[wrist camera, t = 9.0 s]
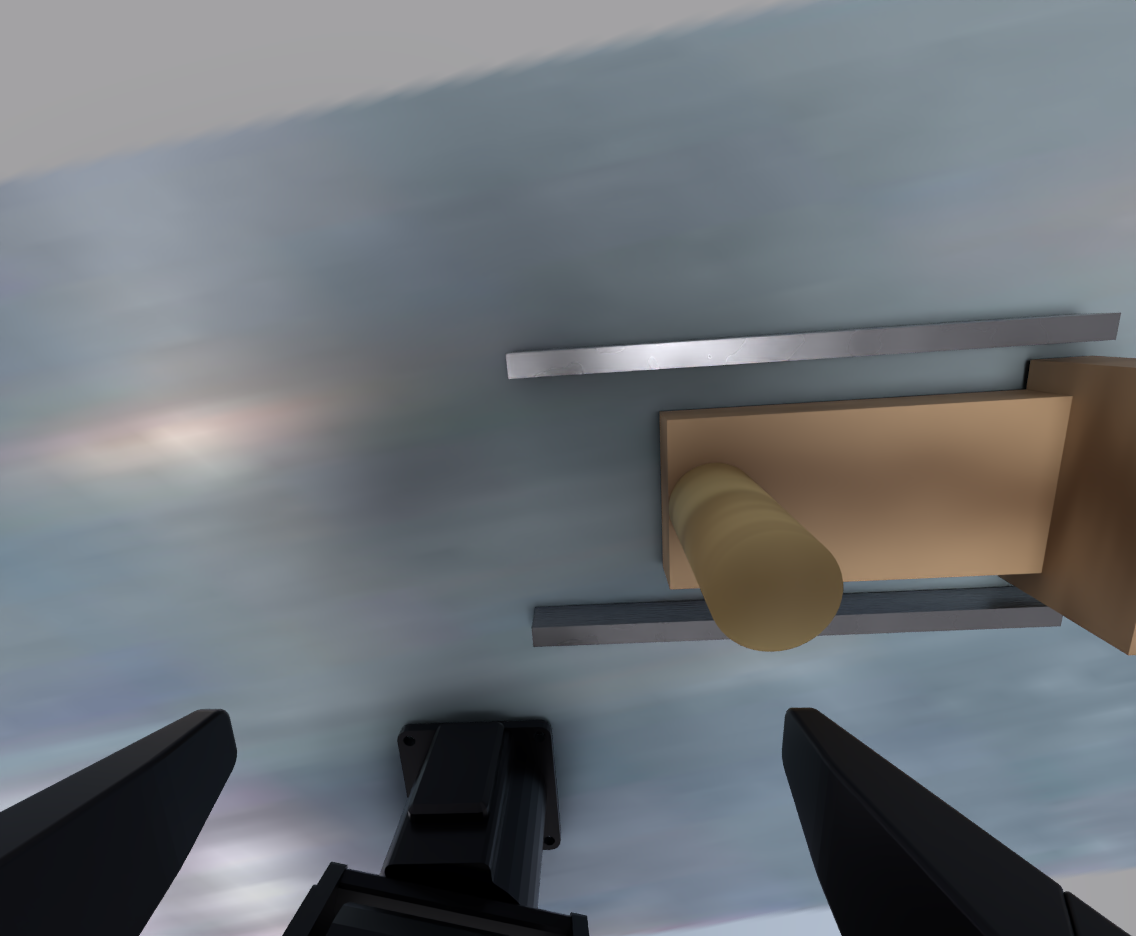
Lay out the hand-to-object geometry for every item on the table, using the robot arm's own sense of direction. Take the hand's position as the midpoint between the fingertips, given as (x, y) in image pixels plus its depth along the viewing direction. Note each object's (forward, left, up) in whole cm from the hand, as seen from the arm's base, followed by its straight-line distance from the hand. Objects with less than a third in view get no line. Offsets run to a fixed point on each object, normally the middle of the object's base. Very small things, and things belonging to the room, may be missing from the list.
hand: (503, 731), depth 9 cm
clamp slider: (0, -11, -12) cm, 16 cm away
